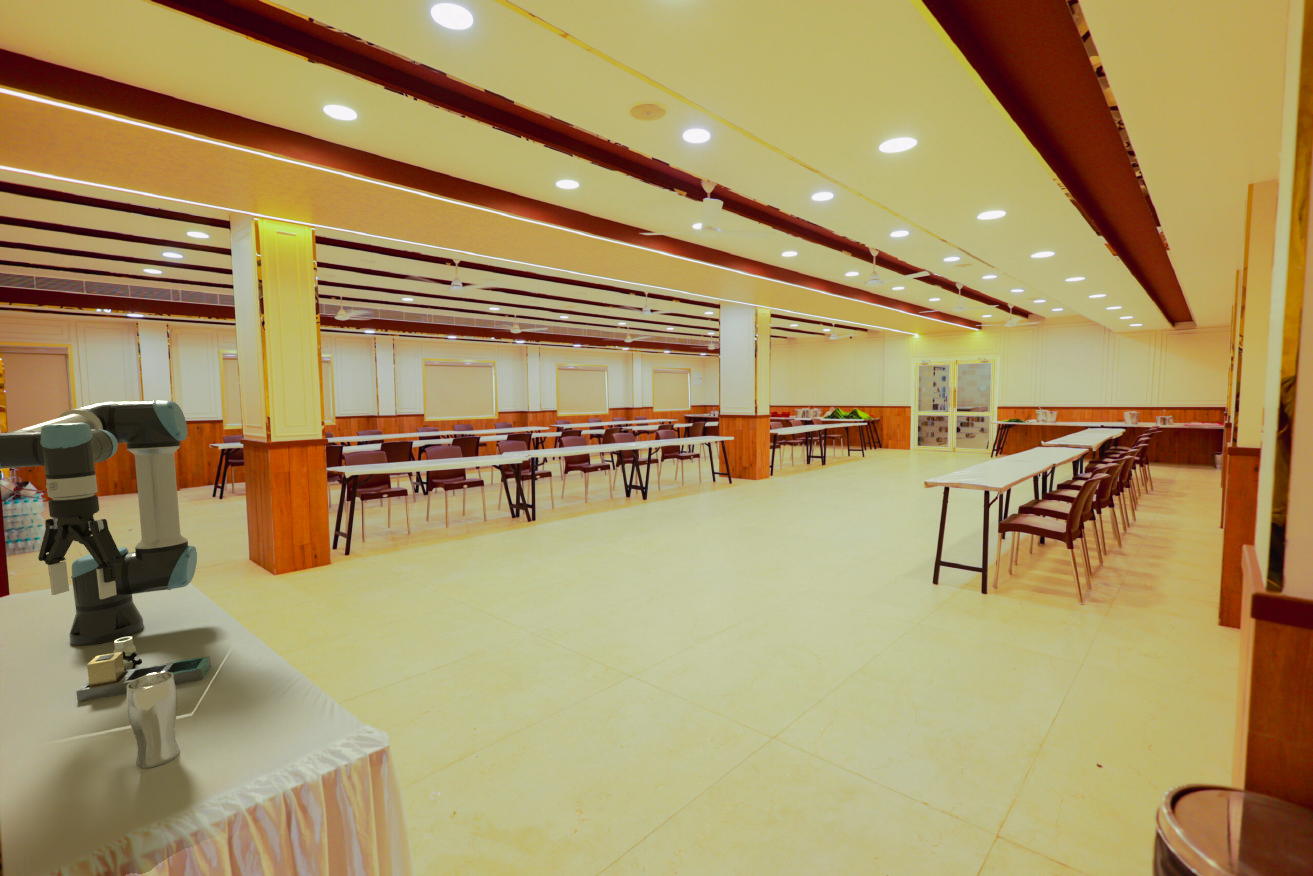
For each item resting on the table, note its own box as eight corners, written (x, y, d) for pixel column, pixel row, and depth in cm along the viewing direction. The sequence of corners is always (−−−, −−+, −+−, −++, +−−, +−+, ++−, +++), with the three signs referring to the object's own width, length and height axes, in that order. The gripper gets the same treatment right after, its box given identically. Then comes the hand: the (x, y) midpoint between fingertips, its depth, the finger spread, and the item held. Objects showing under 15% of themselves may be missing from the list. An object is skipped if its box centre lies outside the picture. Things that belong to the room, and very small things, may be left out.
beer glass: (152, 748, 113) (144, 672, 111) (191, 745, 113) (184, 670, 112) (122, 772, 106) (114, 691, 104) (164, 769, 106) (156, 688, 105)
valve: (108, 666, 147) (105, 684, 138) (105, 640, 146) (102, 657, 137) (143, 658, 151) (143, 675, 142) (141, 633, 151) (140, 648, 141)
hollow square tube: (99, 687, 135) (96, 655, 134) (125, 683, 137) (122, 651, 136) (90, 697, 131) (86, 663, 130) (117, 692, 133) (114, 659, 132)
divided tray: (93, 688, 136) (91, 675, 135) (210, 668, 145) (209, 655, 144) (77, 704, 129) (76, 690, 129) (202, 681, 138) (200, 669, 138)
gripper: (7, 498, 124) (19, 597, 126) (97, 501, 118) (108, 605, 120) (51, 492, 132) (62, 585, 133) (138, 494, 126) (147, 592, 128)
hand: (84, 595), depth 127 cm, fingers open, 13 cm apart
